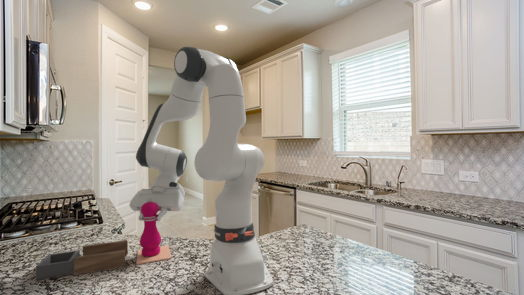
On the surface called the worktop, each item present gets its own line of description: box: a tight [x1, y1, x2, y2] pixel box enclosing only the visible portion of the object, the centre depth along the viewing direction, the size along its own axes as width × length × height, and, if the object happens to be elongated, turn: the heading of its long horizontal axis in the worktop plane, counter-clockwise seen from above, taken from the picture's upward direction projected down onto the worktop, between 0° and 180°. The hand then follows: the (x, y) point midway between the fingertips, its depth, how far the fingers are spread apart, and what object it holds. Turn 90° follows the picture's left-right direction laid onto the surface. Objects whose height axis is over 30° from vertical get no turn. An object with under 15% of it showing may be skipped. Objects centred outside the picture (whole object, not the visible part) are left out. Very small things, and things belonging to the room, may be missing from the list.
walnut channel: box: [74, 239, 129, 275], centre depth 95 cm, size 13×14×5 cm
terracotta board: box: [135, 245, 172, 266], centre depth 101 cm, size 14×11×1 cm
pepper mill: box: [139, 198, 162, 256], centre depth 100 cm, size 7×7×20 cm
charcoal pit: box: [35, 249, 81, 281], centre depth 90 cm, size 11×9×4 cm
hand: (149, 219), depth 100 cm, fingers closed on pepper mill, 5 cm apart
